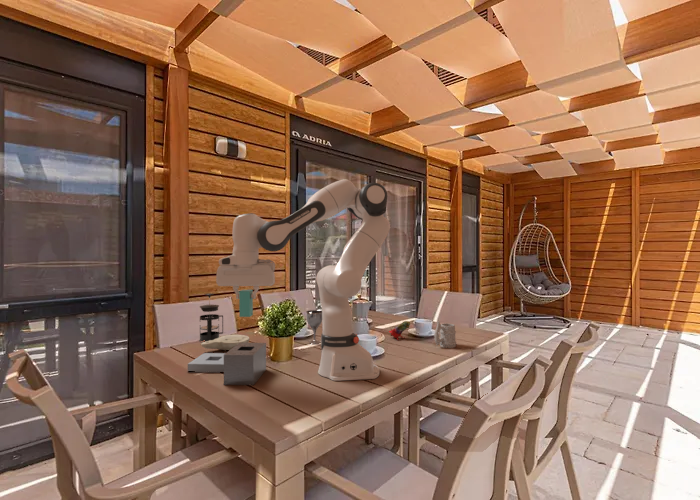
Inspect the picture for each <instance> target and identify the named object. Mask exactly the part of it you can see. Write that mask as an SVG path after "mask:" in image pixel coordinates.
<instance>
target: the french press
mask: <svg viewBox="0 0 700 500" xmlns="http://www.w3.org/2000/svg"><path fill="white" fill-rule="evenodd" d="M204 295H205V296H208V304H204V305H200V306H199V308H200V309H201V310H202V312H203V313H208V314H202V315H200V316H199V321H207V322H206V323H207V325H203V326H200V331H201V330H202V331H204V332H199V342H200V341H203V340H205V341H209V340H214V339H217V338H219V337H220V335H221V334H224V315H220V314H217V313H215V314H213V313H211V312H217V311H219V307H220V305H218V304H211V296H213V295H215V294H214V293H211V292H210V293H205V294H204ZM220 317H222V321H221V322H222V326H221V327H222V329H221V330H222V332H220V331H216V330H217V329H219V328H220V325H214V324H213V325H212V323H213V322H212V321H215V320H220ZM213 330H214V331H213Z"/></svg>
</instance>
